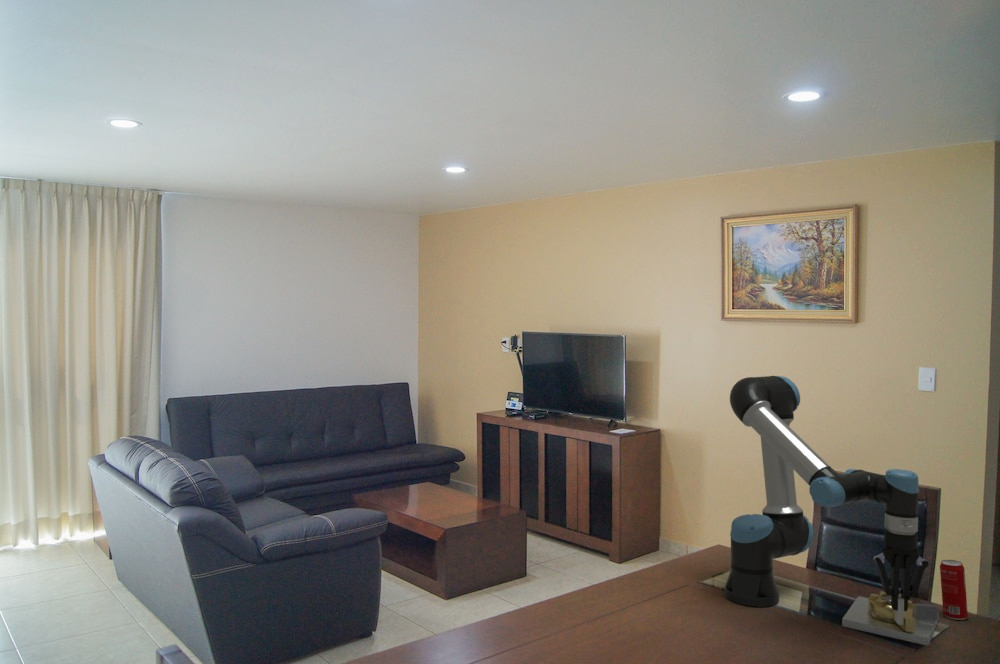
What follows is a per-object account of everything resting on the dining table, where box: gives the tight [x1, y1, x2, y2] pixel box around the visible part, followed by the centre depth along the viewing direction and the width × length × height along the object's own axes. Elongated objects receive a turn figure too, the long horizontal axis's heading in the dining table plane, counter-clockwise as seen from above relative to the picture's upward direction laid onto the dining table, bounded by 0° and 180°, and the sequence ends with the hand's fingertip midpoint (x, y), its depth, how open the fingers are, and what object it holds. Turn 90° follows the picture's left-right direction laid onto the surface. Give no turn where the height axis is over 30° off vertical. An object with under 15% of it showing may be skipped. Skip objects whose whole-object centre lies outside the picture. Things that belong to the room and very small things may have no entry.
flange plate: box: [841, 595, 940, 647], centre depth 196 cm, size 20×20×6 cm
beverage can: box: [939, 559, 969, 621], centre depth 201 cm, size 6×6×15 cm
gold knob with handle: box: [867, 590, 915, 632], centre depth 194 cm, size 16×11×4 cm, turn 175°
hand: (899, 622), depth 188 cm, fingers closed
